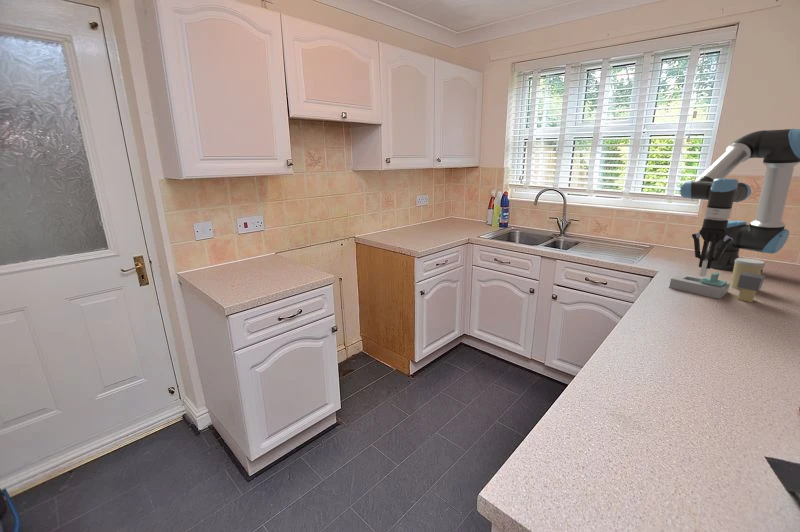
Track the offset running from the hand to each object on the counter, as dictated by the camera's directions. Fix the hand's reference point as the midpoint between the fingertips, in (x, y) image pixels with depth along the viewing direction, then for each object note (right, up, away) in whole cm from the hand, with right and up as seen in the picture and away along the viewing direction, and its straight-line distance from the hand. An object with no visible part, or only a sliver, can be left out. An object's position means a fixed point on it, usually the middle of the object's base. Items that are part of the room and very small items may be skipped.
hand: (702, 275), depth 153 cm
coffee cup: (+21, -6, +5) cm, 22 cm away
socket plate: (0, -6, +2) cm, 6 cm away
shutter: (+2, -3, -2) cm, 4 cm away
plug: (+10, -9, -9) cm, 16 cm away
